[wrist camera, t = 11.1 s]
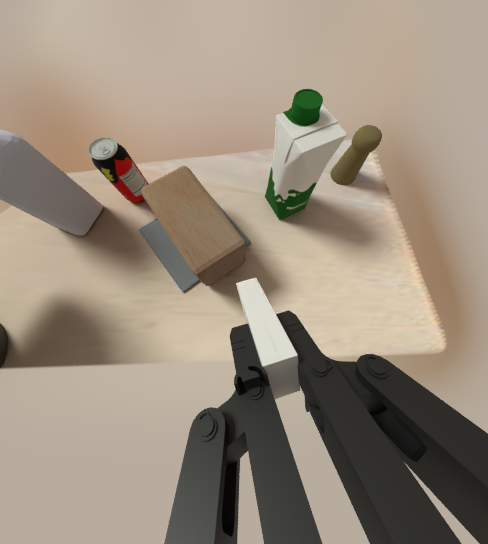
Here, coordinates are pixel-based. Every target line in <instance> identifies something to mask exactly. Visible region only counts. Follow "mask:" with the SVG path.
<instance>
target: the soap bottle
mask: <svg viewBox="0 0 488 544" xmlns="http://www.w3.org/2000/svg"><path fill="white" fill-rule="evenodd" d="M0 199H1V200H3V201H5V202H7V203H9V204H11V205H13V206H15V207H17V208H19V209H20V210H22V211H24V212H26V213H28V214H30V215H32V216H34V217H36V218H38V219H40V220H42V221H44V222H46V223H48V224H50V225H52V226H54V227H56V228H59V229H62V230H65V231H67V232H70V233H73V234H75V235H78V236H79V235H85V234H86V233H87V232H88V230H89V229H90V227H91V226H92V224H93V223H94V221H95V220H96V218H97V217H98V215H99V214H100V212H101V211H102V209H103V205H102V204H101V203H100V202H98V201H97V200H96V199H95V198H94V197H92V196H91V195H90V194H89V193H88V192H86V191H85V190H84V189H83V188H82V187H80V186H79V185H78V184H77V183H76V182H74V181H73V180H72V179H71V178H70V177H68V176H67V175H66V174H65V173H64V172H62V171H61V170H60V169H59V168H58V167H56V166H55V165H54V164H53V163H52V162H51V161H49V160H48V159H47V158H46V157H44V156H43V155H42V154H41V153H40V152H38V151H37V150H36V149H35V148H33V146H31V145H30V144H29V143H28V142H27V141H25V140H24V139H23V138H22V137H20V136H18V135H16V134H13V133H10V132H7V131H4V130H1V129H0Z"/></svg>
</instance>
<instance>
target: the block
mask: <svg viewBox="0 0 488 544" xmlns="http://www.w3.org/2000/svg"><path fill="white" fill-rule="evenodd" d="M141 191H142V196H143V197H144V199H145V200H146V202H147V203H148V205H149V206H150V208H151V209H152V211H153V212H154V214H155V216H156V217H157V219H158V220H159V222H160V223H161V225H162V226H163V228H164V229H165V231H166V232H167V234H168V235H169V237H170V239H171V240H172V242H173V243H174V245H175V246H176V248H177V249H178V251H179V252H180V254H181V255H182V257H183V259H184V260H185V262H186V263H187V265H188V266H189V268H190V269H191V271H192V272H193V274H194V275H195V276H196V277H197V278H198V279H199V280H200V281H201V282H202V283H203V284H205V285H206V286H208V285H211V284H213V283H214V282H216V281H217V280H219V279H220V278H222V277H223V276H225V275H226V274H228V273H229V272H231V271H232V270H234V269H235V268H237V267H238V266H240V265H241V264H243V263H244V261H245V241H244V240H243V238H242V237H241V236H240V234H239V233H238V232H237V230H236V229H235V228H234V226H233V225H232V224H231V223H230V221H229V220H228V219H227V217H226V216H225V215H224V213H223V212H222V211H221V210H220V208H219V207H218V206H217V204H216V203H215V202H214V200H213V199H212V198H211V196H210V195H209V194H208V193H207V191H206V190H205V189H204V187H203V186H202V185H201V183H200V182H199V181H198V180H197V178H196V177H195V176H194V174H193V173H192V172H191V170H190V169H189V168H188V167H186V166H182V167H180V168H178V169H176V170H175V171H173V172H171V173H169V174H167V175H165V176H163V177H161V178H160V179H158V180H156V181H154V182H152V183H150V184H148V185H146V186H144V187H143V188H142V189H141Z"/></svg>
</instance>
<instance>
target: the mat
mask: <svg viewBox="0 0 488 544" xmlns="http://www.w3.org/2000/svg"><path fill="white" fill-rule="evenodd" d="M211 198H212V197H211ZM212 199H213V198H212ZM213 200H214V199H213ZM214 202H215V201H214ZM215 203H216V202H215ZM216 204H217V203H216ZM217 206H218V207H219V208H220V210H221V211H222V212H223V213H224V215H225V216H226V217H227V219H228V220H229V221H230V223H231V224H232V225H233V226H234V228H235V229H236V230H237V232H238V233H239V234H240V236H241V237H242V238H243V240H244V241H245V246H247V245H248V244H250V243H251V242H250V241H249V240H248V238H247V237H246V236H245V235H244V234H243V233H242V232H241V230H240V229H239V228H238V227H237V226H236V225H235V224H234V222H233V221H232V220H231V219H230V218H229V217H228V215H227V214H226V213H225V212H224V211H223V210H222V209H221V207H220V206H219V205H218V204H217ZM139 231H140V233H141V234H142V235H143V237H144V238H145V240H146V241H147V243H148V244H149V245H150V247H151V248H152V250H153V251H154V252H155V254H156V255H157V257H158V258H159V259H160V261H161V262H162V264H163V265H164V266H165V268H166V269H167V271H168V272H169V274H170V275H171V276H172V278H173V279H174V281H175V282H176V283H177V285H178V286H179V288H180V289H181V290H182V292H184V291H186V290H187V289H188V288H190V287H191V286H192V285H194V284H195V283H196V282H198V281H199V279H198V278H197V277H196V276H195V275H194V274H193V272H192V271H191V269H190V268H189V266H188V265H187V263H186V262H185V260H184V259H183V257H182V255H181V254H180V252H179V251H178V249H177V248H176V246H175V245H174V243H173V242H172V240H171V239H170V237H169V235H168V234H167V232H166V231H165V229H164V228H163V226H162V225H161V223H160V222H159V220H158V219H155V220H153V221H152V222H150V223H149V224H147V225H146V226H144V227H142V228H141V229H139Z"/></svg>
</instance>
